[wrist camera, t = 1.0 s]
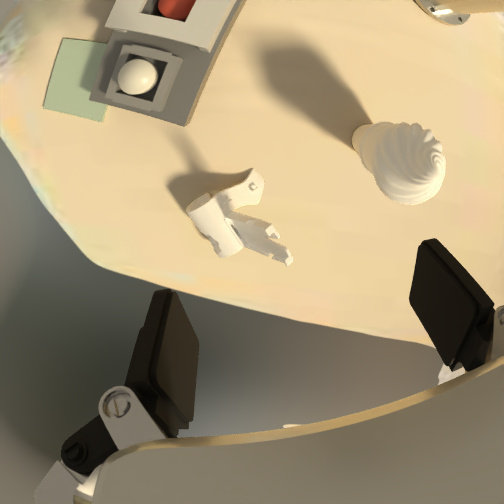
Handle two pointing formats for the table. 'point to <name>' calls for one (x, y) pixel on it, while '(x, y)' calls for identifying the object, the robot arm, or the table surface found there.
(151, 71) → the on button
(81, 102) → the mat
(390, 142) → the soft serve ice cream cone
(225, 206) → the plastic part
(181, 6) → the breaker button
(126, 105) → the grey push-button box
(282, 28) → the table surface
